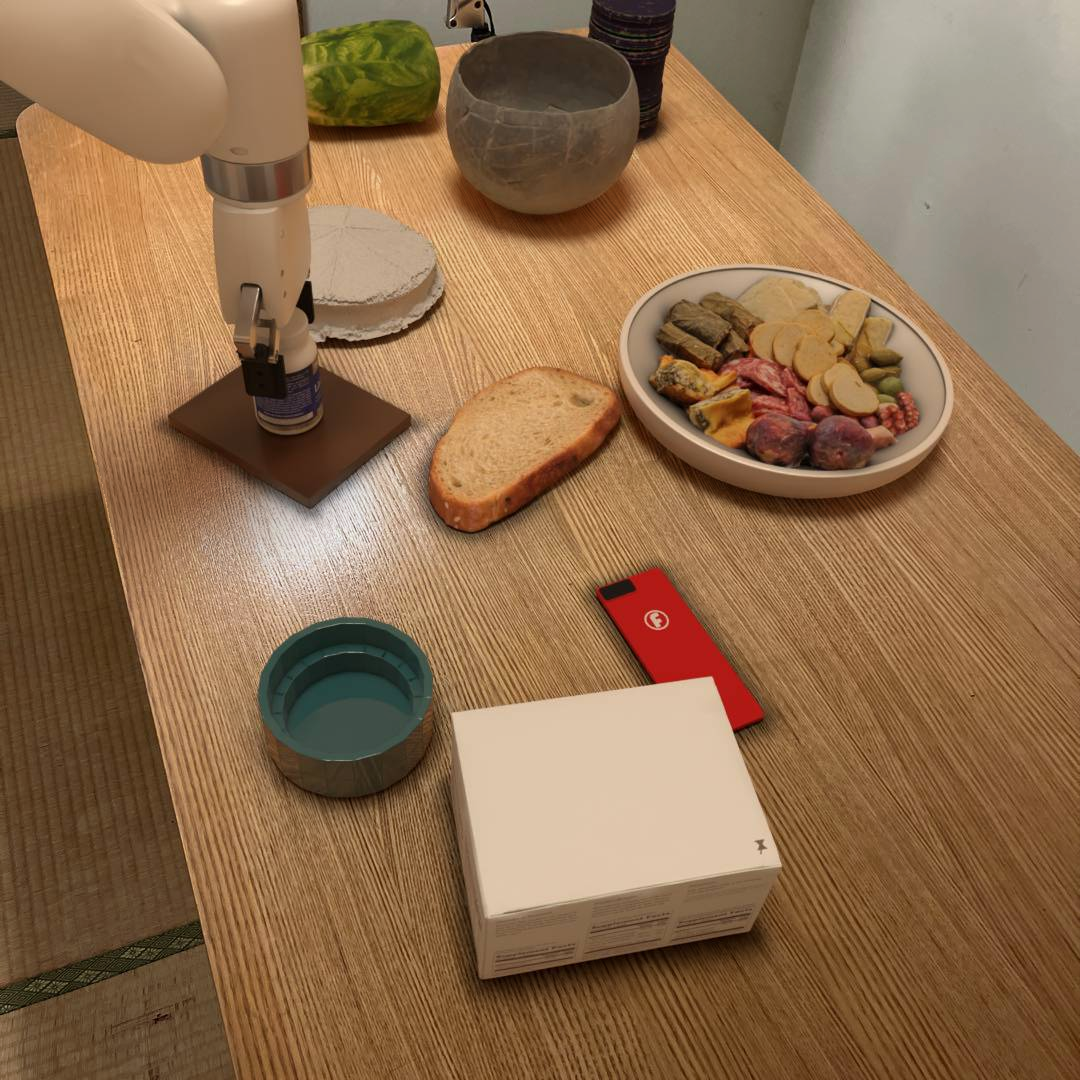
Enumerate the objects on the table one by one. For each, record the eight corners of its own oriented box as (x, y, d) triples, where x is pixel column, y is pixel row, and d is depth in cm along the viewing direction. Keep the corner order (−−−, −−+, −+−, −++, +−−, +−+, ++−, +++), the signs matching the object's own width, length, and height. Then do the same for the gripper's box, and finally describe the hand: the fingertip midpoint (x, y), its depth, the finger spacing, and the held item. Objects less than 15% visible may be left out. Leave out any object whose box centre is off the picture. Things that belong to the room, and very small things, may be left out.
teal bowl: (231, 740, 72) (220, 699, 69) (342, 634, 79) (338, 591, 75) (359, 832, 69) (355, 793, 65) (465, 712, 75) (466, 671, 71)
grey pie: (196, 305, 104) (184, 243, 98) (317, 211, 116) (311, 152, 111) (372, 376, 98) (369, 315, 93) (479, 271, 111) (481, 212, 106)
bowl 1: (488, 135, 130) (493, 6, 119) (649, 177, 126) (670, 48, 115) (414, 217, 117) (412, 80, 105) (591, 267, 113) (608, 131, 101)
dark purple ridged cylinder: (658, 146, 131) (683, -8, 117) (577, 138, 131) (593, -17, 117) (656, 108, 138) (680, -43, 124) (580, 100, 137) (596, -51, 124)
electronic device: (765, 719, 76) (658, 570, 85) (766, 714, 76) (659, 565, 85) (695, 747, 74) (593, 592, 83) (697, 743, 74) (594, 588, 83)
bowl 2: (575, 319, 106) (583, 250, 101) (848, 292, 113) (871, 226, 107) (674, 541, 87) (691, 472, 82) (996, 493, 94) (1033, 426, 88)
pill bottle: (335, 424, 92) (326, 330, 85) (272, 446, 90) (257, 351, 82) (307, 386, 95) (296, 291, 88) (245, 405, 93) (229, 310, 85)
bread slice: (433, 536, 86) (433, 503, 83) (415, 389, 98) (414, 356, 95) (651, 521, 89) (658, 489, 86) (608, 380, 100) (612, 348, 98)
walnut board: (169, 425, 92) (166, 414, 91) (276, 351, 100) (274, 341, 99) (310, 509, 87) (308, 498, 86) (411, 424, 94) (411, 414, 94)
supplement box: (689, 749, 74) (715, 671, 68) (751, 934, 66) (788, 867, 59) (446, 784, 71) (447, 706, 64) (479, 983, 63) (484, 918, 56)
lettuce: (257, 110, 130) (245, 14, 121) (422, 92, 136) (421, -1, 127) (278, 157, 123) (266, 59, 114) (450, 136, 129) (451, 41, 120)
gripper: (235, 99, 81) (262, 290, 94) (165, 223, 69) (206, 422, 82) (335, 109, 81) (348, 299, 94) (281, 235, 69) (304, 432, 82)
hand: (282, 356), depth 88 cm, fingers open, 9 cm apart
